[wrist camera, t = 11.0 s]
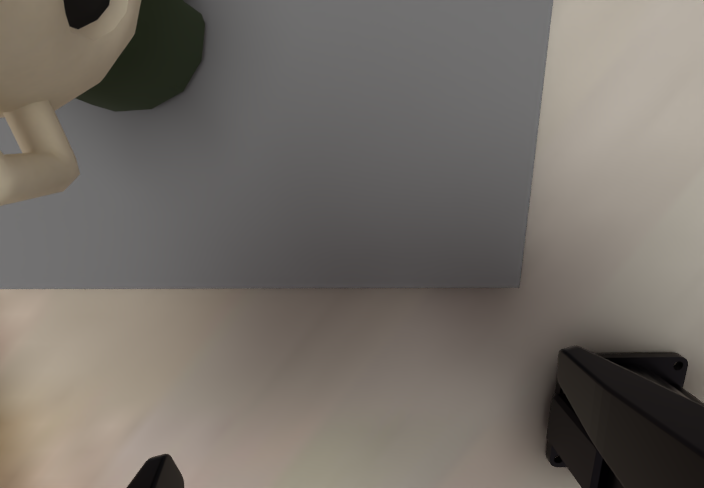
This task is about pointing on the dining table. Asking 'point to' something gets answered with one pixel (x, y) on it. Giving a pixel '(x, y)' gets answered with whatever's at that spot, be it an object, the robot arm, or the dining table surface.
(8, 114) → the character mug
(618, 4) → the dining table surface
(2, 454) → the dining table surface
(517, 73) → the placemat
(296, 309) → the dining table surface
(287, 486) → the dining table surface
